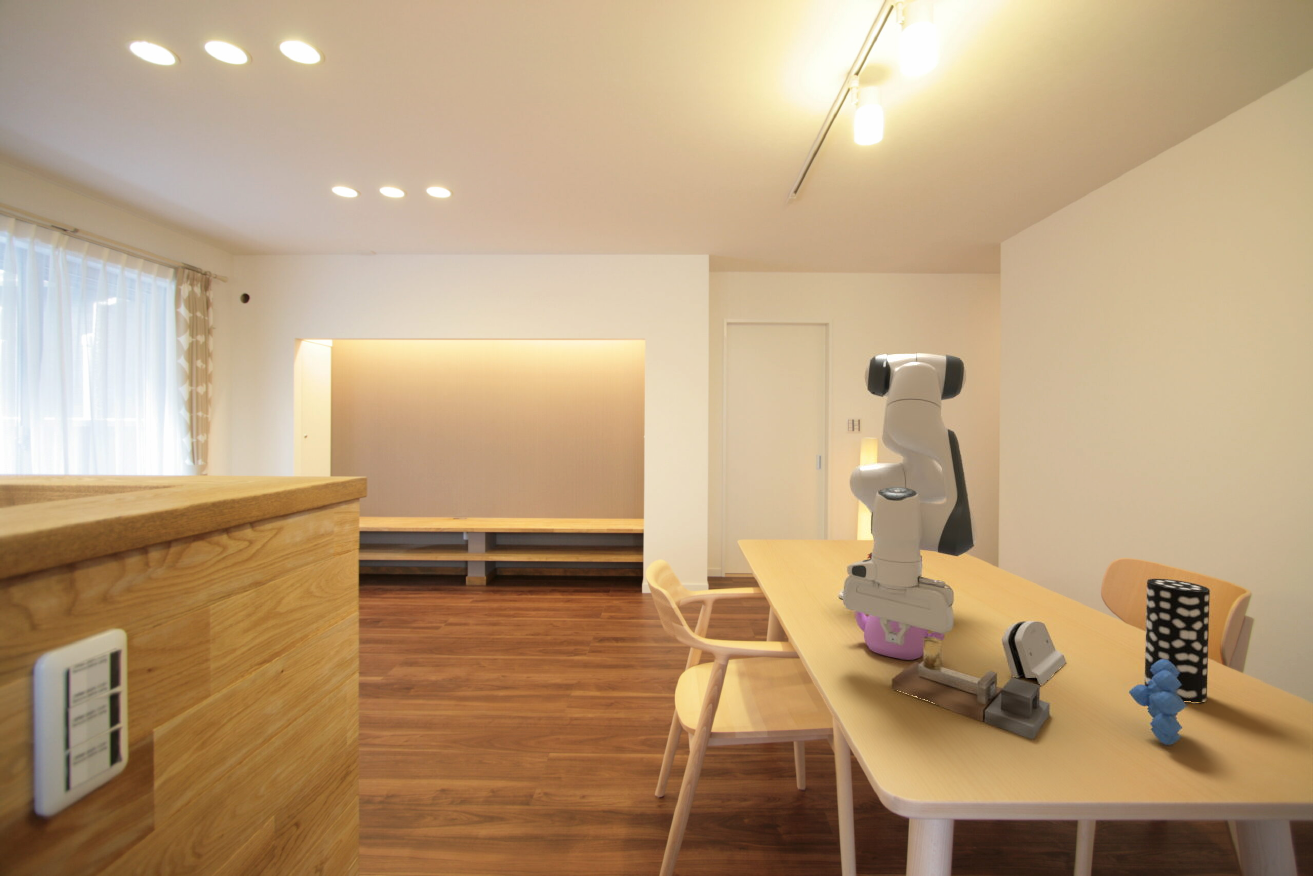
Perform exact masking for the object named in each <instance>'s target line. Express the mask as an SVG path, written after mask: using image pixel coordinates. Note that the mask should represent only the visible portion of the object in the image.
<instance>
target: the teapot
mask: <svg viewBox="0 0 1313 876" xmlns="http://www.w3.org/2000/svg"><path fill="white" fill-rule="evenodd" d="M854 613H855V621H856V623H857V626H858V627H859V629H860V630H862V631H863V639H864V642H865V643H866V646H867V647H868V648H869V650H870V651H872V652H874V653H875V654H878V655H881V656H886V657H889V658H895V659H899V660H906V661H914V660H917V659H920V658H921V657H923V638H924V637H935V638H938V639H940V640H941V641H944V639H945V634H941V633H937V632H933V631H932V632H931V633H928V631H929V630H926V629H922V628H918V627H914V626H911V625H910V628H909V630H908V631H907V632H906V634H905V635H904V644H903V645H898V644H894V643H891V642H887V641H886V640H885V632H884V630H883V628H882V626H881V624H880V617H876V616H872V615H869V614H868V616H867V614H865V613H861V612H857V611H854ZM889 624H890V626H891V628H892V631H893V632H897V633H899V632H900V631H901V629H902V628H899V622H895V621H891V622H889Z"/></svg>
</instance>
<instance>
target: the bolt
mask: <svg viewBox="0 0 1313 876" xmlns="http://www.w3.org/2000/svg"><path fill="white" fill-rule="evenodd" d="M942 641H943V640H940V639H938V638H935V637H924V638H923V655H922V661H921V662H919V663H920V664H919V665H918V676H921V677H924V678H927V679H930V680H933V681H936V682H939V683H942V684H945V685H949V686H952V687H955V688H958V689H961V690H964V691H967V692H970V693H973V694H976V695H977V689H978V681H979V680H980V679H981V678H979V677H976V676H973V675H969V674H966V673H963V672H960V671H957V670H953V669H950V668H947V667H943V666H942ZM994 695H995V683H993V682H992V683H991V684H990V685H989V686H988V699H992V698H993V696H994Z"/></svg>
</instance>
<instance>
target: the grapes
mask: <svg viewBox="0 0 1313 876" xmlns="http://www.w3.org/2000/svg"><path fill="white" fill-rule="evenodd" d="M1150 671H1151V672H1152V673H1153V675H1154V677H1152V679H1151V680H1150V681H1148V683H1147V684H1148V685H1149V686H1148V687H1147V686H1145V684H1141V683H1140V684H1137V685H1135V686H1134V687H1132V688H1131V689H1129V691H1128V693H1129V694H1130V696H1131V697H1132V699H1133V700H1134V701H1135V702H1136V703H1137V705H1140V706H1142V707H1147V713H1148V714H1149V715H1150V716H1151V717H1152V719H1151V722H1149V725H1150V726H1151V727H1152V728H1150V730H1151V732H1152V733H1153V735H1154V736H1155V737H1156V738H1157V740H1158V741H1159V742H1160V743H1162V744H1163V745H1165V746H1170V745H1173V744H1175V743H1176V742H1178V740H1180V739H1181V738H1182V737H1181V736H1180V734H1179V732H1180V731H1181V730H1182V729H1183V726H1182V725H1181V724H1180V722H1179V721H1178V720H1177V719H1178V718H1177V715H1178V713H1180V712H1182V711H1183V710H1185V708H1186V707H1187V703H1186V702H1184V701H1183V700H1182V699H1181V698H1180V697H1179V696H1178V695H1177V693H1176V692H1178V691H1177V689H1178V688H1179V687H1180V686H1181V685H1182V684H1181V683H1180V682H1179V680H1178V679H1177V677H1178V674H1180V672H1179V671H1178V670H1177V668H1176V667H1175V666H1174V665H1173V664H1172V663H1171V662H1170V661H1169V660H1167V659H1161V660H1159V661H1157V662H1156V663H1154V664H1153V665H1152V666H1151V669H1150Z"/></svg>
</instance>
